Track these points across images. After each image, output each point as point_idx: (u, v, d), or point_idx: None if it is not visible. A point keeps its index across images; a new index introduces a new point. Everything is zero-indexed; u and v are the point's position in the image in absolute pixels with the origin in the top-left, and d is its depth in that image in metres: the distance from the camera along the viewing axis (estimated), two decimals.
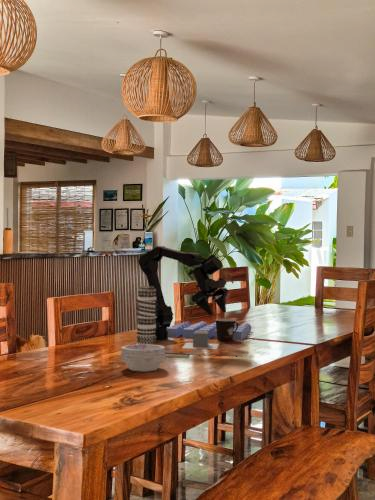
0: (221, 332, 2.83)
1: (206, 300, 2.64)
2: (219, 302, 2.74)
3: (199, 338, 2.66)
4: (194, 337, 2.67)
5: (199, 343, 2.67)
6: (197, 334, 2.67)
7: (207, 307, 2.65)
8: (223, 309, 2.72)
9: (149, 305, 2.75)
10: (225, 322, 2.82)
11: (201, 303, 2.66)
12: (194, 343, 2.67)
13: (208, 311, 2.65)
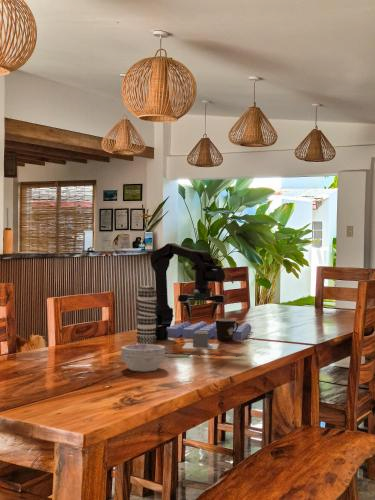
0: (221, 332, 2.83)
1: (185, 305, 2.68)
2: None
3: (199, 338, 2.66)
4: (194, 337, 2.67)
5: (199, 343, 2.67)
6: (197, 334, 2.67)
7: None
8: None
9: (149, 305, 2.75)
10: (225, 322, 2.82)
11: None
12: (194, 343, 2.67)
13: (188, 314, 2.70)
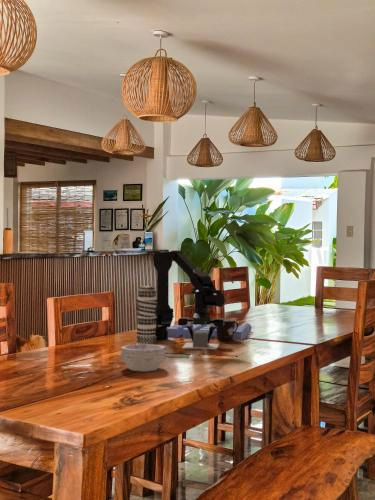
0: (221, 332, 2.83)
1: (189, 329, 2.68)
2: None
3: (199, 338, 2.66)
4: (194, 337, 2.67)
5: (199, 343, 2.67)
6: (197, 334, 2.67)
7: (190, 334, 2.69)
8: (208, 339, 2.69)
9: (149, 305, 2.75)
10: (225, 322, 2.82)
11: None
12: (194, 343, 2.67)
13: None
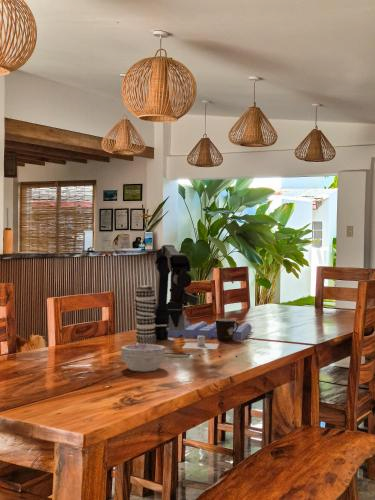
0: (221, 332, 2.83)
1: (180, 312, 2.50)
2: None
3: (185, 320, 2.54)
4: (184, 320, 2.52)
5: (185, 325, 2.54)
6: (184, 316, 2.53)
7: (177, 319, 2.50)
8: None
9: (147, 305, 2.74)
10: (225, 322, 2.82)
11: (173, 312, 2.50)
12: (184, 326, 2.52)
13: (175, 322, 2.51)
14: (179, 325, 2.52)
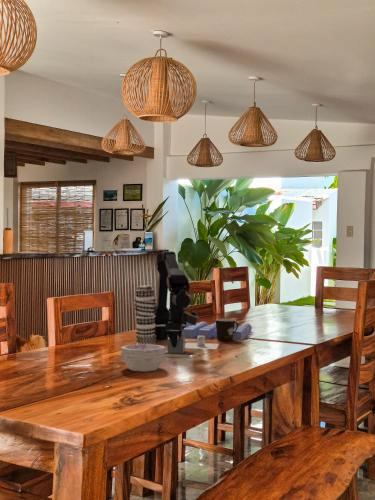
0: (221, 332, 2.83)
1: (179, 333, 2.48)
2: None
3: (184, 344, 2.54)
4: (183, 344, 2.52)
5: None
6: (183, 340, 2.53)
7: (175, 339, 2.49)
8: None
9: (147, 305, 2.74)
10: (225, 322, 2.82)
11: (171, 332, 2.49)
12: (183, 350, 2.52)
13: (173, 343, 2.49)
14: (178, 349, 2.51)
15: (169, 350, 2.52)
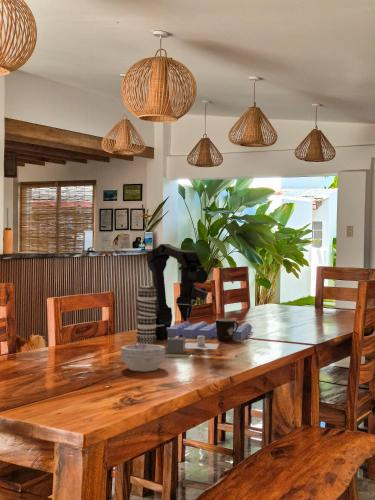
0: (221, 332, 2.83)
1: (189, 307, 2.62)
2: None
3: (184, 344, 2.54)
4: (183, 344, 2.52)
5: None
6: (183, 340, 2.53)
7: (186, 313, 2.63)
8: (188, 314, 2.73)
9: (149, 305, 2.75)
10: (225, 322, 2.82)
11: (182, 306, 2.63)
12: (183, 350, 2.52)
13: (184, 316, 2.64)
14: (178, 349, 2.51)
15: (169, 350, 2.52)
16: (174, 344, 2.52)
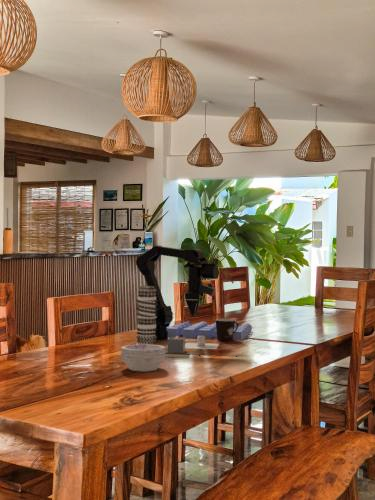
0: (221, 332, 2.83)
1: (197, 302, 2.72)
2: None
3: (184, 344, 2.54)
4: (183, 344, 2.52)
5: None
6: (183, 340, 2.53)
7: (194, 308, 2.73)
8: (195, 310, 2.83)
9: (149, 305, 2.75)
10: (225, 322, 2.82)
11: (190, 302, 2.73)
12: (183, 350, 2.52)
13: (192, 312, 2.74)
14: (178, 349, 2.51)
15: (169, 350, 2.52)
16: (174, 344, 2.52)
